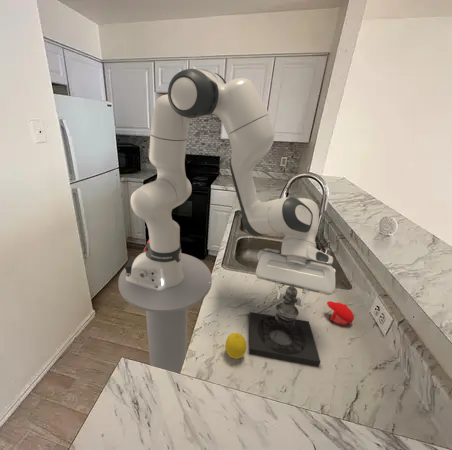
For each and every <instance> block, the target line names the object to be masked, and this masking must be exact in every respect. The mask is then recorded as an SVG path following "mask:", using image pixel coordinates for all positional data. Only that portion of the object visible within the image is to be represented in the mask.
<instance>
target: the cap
mask: <svg viewBox="0 0 452 450" xmlns="http://www.w3.org/2000/svg"><path fill="white" fill-rule="evenodd" d="M326 305H327V306H328V308H330V310H332V311H333V312H332V314H331V317H330V318H329V320H330V321H331V322H334V323H335V324H337V325H340V326H347V325H348V324H352V323H353V322H354V319H355V315H354V313H353V311H352V310H351V308H350V307H348V304H346V303H341V302H335V301H332V300H331V301H327V302H326Z"/></svg>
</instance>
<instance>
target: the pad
mask: <svg viewBox="0 0 452 450" xmlns="http://www.w3.org/2000/svg"><path fill="white" fill-rule="evenodd" d="M275 316H276V315H273V314H265V313H259V312H253V311H249V314H248V350H249V351H248V353H249V354H250V355H255V356H260V357H266V358H270V359H277V360H280V361H281V360H282V361H286V362H291V363H297V364H303V365H308V366H314V367H319V366H320V363H321V358H320V356H319V352H318V348H317V344H316V341H315V338H314V335H313V331H312V327H311V324H310V323H311V322H310V320H303V319H296V318H295V324H294V325H293V326H290V327H286V326H283V325H281V324H279V323H278V322H277V321H276V318H275ZM272 330H280V331H283V332H285V333H287V334H288V335H289V336H290V337H291V339H292V342H291V343H290V344H282V343H279V342H277V341H275V340H274V339H273V338H272V337H271V335H270V331H272Z"/></svg>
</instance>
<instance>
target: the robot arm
mask: <svg viewBox="0 0 452 450" xmlns="http://www.w3.org/2000/svg"><path fill="white" fill-rule="evenodd" d="M211 115H215V116H216V117H217V118H219V120H220V122H221V123H222V125H223V128H224V130H225V132H226V134H227V137H228V141H229V144H230V150H231V151H230V152H231V153H230V154H231V156H230V158H229V171H230V174H231V179H232V182H233V186H234V190H235V193H236V197H237V200H238V204H239V207H240V214H241V222H242V226H243V228H244V229H245V230H246V232H247V233H248V234H250V235H251V236H253V237H262V236H268V235H279V234H282V235H284V237H283V238H282V241H281V249H280V250H279V249H274V248H269V247H264V248H262V249H260V250H259V251H258V253H257V261H258V263H257V265H256V268H255V277H256V278H257V279H258V280H263V281H267V282H271V283H275V284H274V288H275V291H276V293H277V296H276V300H277V301H281V302H283V297H284V295H285V293H282V292H281V290H280V288H281V287H282V285H284V286H287V287H290V286H292V285H293V286H294V287H295V288H296V289H300V290H302V292H301V294H303V295H302V296H300V297H296V299H297V302H296V303H295V306H299V307H303V304H304V300H305V299H306V298H307V296H309V294H310V292H313V293H317V294H321V295H325V296H331V295H333V294H334V293H335V291H336V272H335V271H334V269H335V268H334V267H333V266H332V265H333V262H334V257H333V256H332V255H330V254H328V253H326V252H324V251H321V250H320V249H318V248H316V247H317V245H316V244H317V243H316V237H317V235H318V231H319V224H320V223H319V221H320V214H319V213H320V212H319V211H320V210H319V206H318V204H317V203H316V202H315V201H314V200H312V199H310V198H307V197H298V198H296V197H295V196H287V197H281V198H275V199H272V200H267V201H261V200H260V199H259V197H258V193H257V189H256V185H255V182H254V177H253V174H254V170H255V166H256V165H257V164H258V163H259V162H260V161H261V160H262V159H263V158H264V157H266V155H267V154H268V153H269V152H270V150H271V149H272V146H273V144H274V140H275V137H276V133H275V127H274V124H273V121H272V118H271V116H270V113H269V111H268V108H267V106H266V104H265V102H264V100H263V98H262V95H261V94H260V92H259V90H258V89H257V87H256V85H255V84H254V82H252V80H250V79H249V78H247V77H238V78H233V79H231V80H230V81H228V82H227V81H226V79H224V77H223V76H222V75H220V74H219V73H217V72H213V71H212V70H208V69H202V68H201V69H200V68H199V69H196V68H186V69H183V70H181V71H179V72H176V73H175V75H173V77H172V78H171V79H170V81H169V84H168V88H167V93H166V94H163V95H161V96H159V97H158V98H157V99H156V101H155V103H154V107H153V112H152V116H151V122H150V130H149V131H150V133H149V150H148V159H149V162H150V163H151V165H152V166H154V167H155V168H156V174H157V176H156V179H155V180H153V181H151V182H147V183H145V184H143V185H141V186H139V188H137V189H136V190H135V191H133V192H132V194H131V196H130V207H131V209H132V211H133V213H134V214H135V216H137V217H138V218H139V219H141V220H143V221H144V222H145V224H146V226H147V230H148V237H149V238H148V240H147V241H146V244H145V246H144V248H143V252H142V253H139V255H137V256H136V257H135V258H134V259H131V258H130V259H128V261H127V263H126V264H125V267H124V268H125V270H126V273H127V274H126V282H127V283H130V284H134V285H137V286H140V287H143V288H147V289H150V290H153V291H156V292H162V291H164V290H165V289H167V288H171V287H174V286H176V285H178V284H180V283H181V282H182V281H183V279H184V273H183V271H182V267H181V260H180V259H181V253H182V245H181V233H180V232H181V226H180V224H179V223H178V222H177V221H175V220H174V219H173V216H172V212H173V210H174V209H176V208H177V207H179V206H181V205H183V204H184V203H185V202H186V201H187V200H188V199H189V198H190V196H191V195H192V193H193V192H192V190H193V188H192V184H191V182H190V179H188V177H187V174H186V165H185V163H186V162H185V161H186V154H187V153H186V152H187V144H188V135H189V129H190V124H191V122H192V121H193V119H196V118H197V119H199V118H200V119H201V118H206V117H208V116H211ZM333 268H334V269H333Z"/></svg>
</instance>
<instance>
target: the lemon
mask: <svg viewBox="0 0 452 450" xmlns="http://www.w3.org/2000/svg"><path fill="white" fill-rule="evenodd" d="M224 347H225V352H226V354H227V355H228V356H229V357H230V358H232V359H234V360H238V359H241V358H243V357H244V356H245V354H246V352H247V340H246V338H245V337H244V335H242V334H241V333H239V332H232V333H230V334H229V335H228V336H227V338H226V340H225V345H224Z"/></svg>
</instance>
